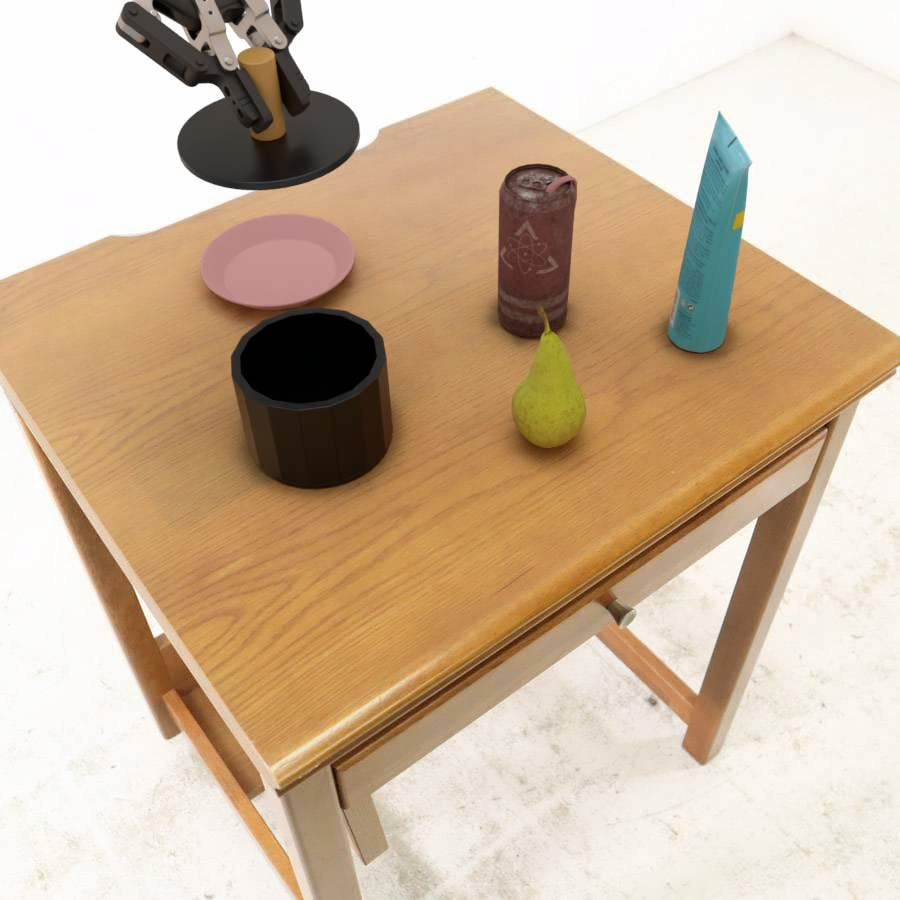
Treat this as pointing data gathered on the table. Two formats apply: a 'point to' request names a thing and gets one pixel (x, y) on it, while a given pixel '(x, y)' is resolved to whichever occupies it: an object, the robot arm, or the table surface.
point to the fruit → (549, 395)
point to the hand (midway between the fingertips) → (283, 117)
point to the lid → (268, 136)
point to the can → (535, 247)
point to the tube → (712, 245)
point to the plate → (277, 261)
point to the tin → (313, 396)
